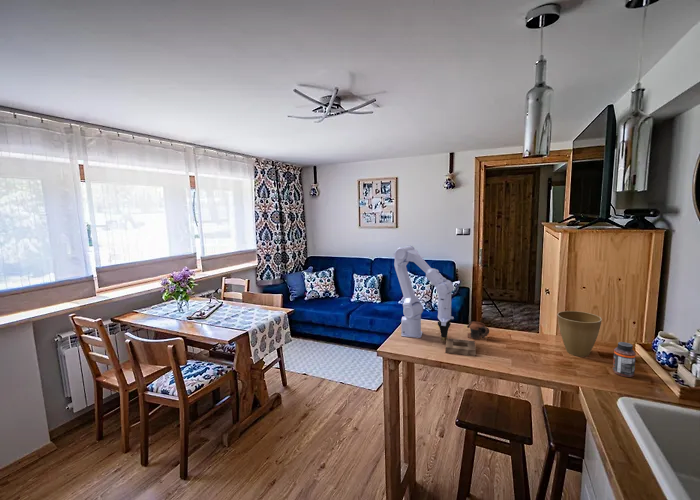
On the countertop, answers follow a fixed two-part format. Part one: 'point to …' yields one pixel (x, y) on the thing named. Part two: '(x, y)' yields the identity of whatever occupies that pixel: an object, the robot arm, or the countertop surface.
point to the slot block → (460, 347)
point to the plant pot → (579, 331)
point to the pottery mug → (477, 330)
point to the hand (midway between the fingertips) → (444, 335)
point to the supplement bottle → (624, 360)
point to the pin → (444, 338)
